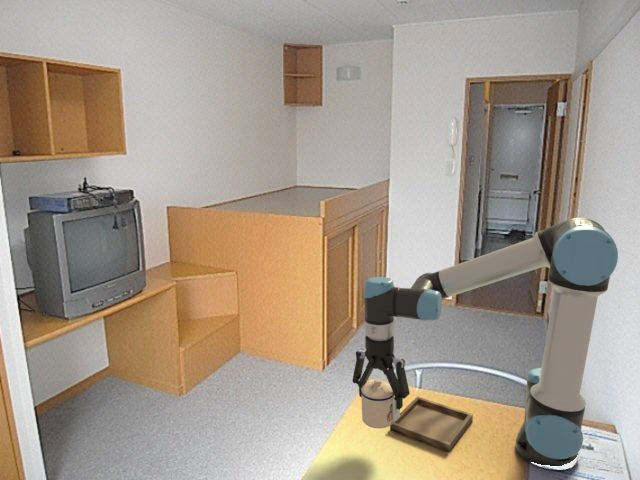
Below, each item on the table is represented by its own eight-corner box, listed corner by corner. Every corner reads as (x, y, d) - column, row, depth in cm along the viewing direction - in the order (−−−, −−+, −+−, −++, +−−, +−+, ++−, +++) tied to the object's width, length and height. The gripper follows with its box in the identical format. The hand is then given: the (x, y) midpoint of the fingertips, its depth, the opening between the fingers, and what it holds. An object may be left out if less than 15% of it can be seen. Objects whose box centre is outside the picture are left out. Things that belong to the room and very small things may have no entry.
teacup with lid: (395, 430, 125) (394, 389, 123) (360, 428, 127) (359, 388, 125) (395, 406, 137) (394, 368, 135) (363, 404, 138) (362, 367, 136)
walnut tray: (472, 421, 144) (472, 414, 143) (449, 453, 130) (449, 444, 129) (417, 403, 154) (417, 396, 154) (390, 430, 140) (390, 423, 140)
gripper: (337, 331, 130) (340, 407, 135) (410, 349, 117) (410, 432, 122) (352, 323, 136) (354, 396, 141) (423, 339, 123) (423, 418, 128)
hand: (380, 413), depth 131 cm, fingers closed on teacup with lid, 9 cm apart
